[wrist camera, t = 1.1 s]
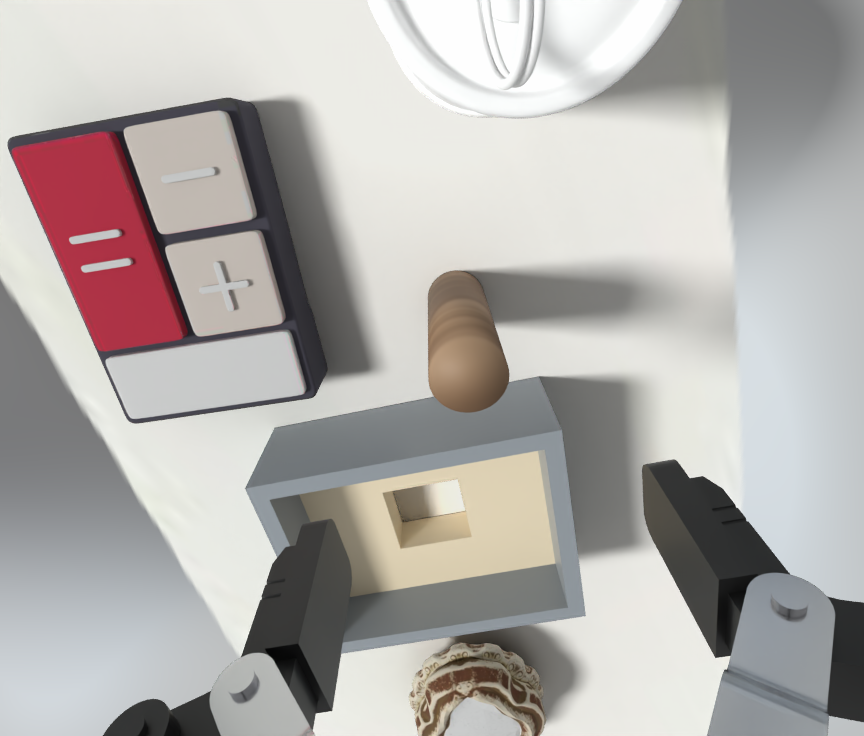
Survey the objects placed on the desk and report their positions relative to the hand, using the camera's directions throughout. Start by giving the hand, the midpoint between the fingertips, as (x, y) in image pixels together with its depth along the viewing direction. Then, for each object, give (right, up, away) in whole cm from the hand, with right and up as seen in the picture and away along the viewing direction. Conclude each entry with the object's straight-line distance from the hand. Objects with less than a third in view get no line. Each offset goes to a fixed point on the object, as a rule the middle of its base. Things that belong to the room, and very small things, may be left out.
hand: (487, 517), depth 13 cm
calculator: (-14, +10, +16) cm, 23 cm away
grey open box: (-2, -4, +22) cm, 23 cm away
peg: (0, +8, +16) cm, 18 cm away
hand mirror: (+4, -29, +34) cm, 45 cm away
